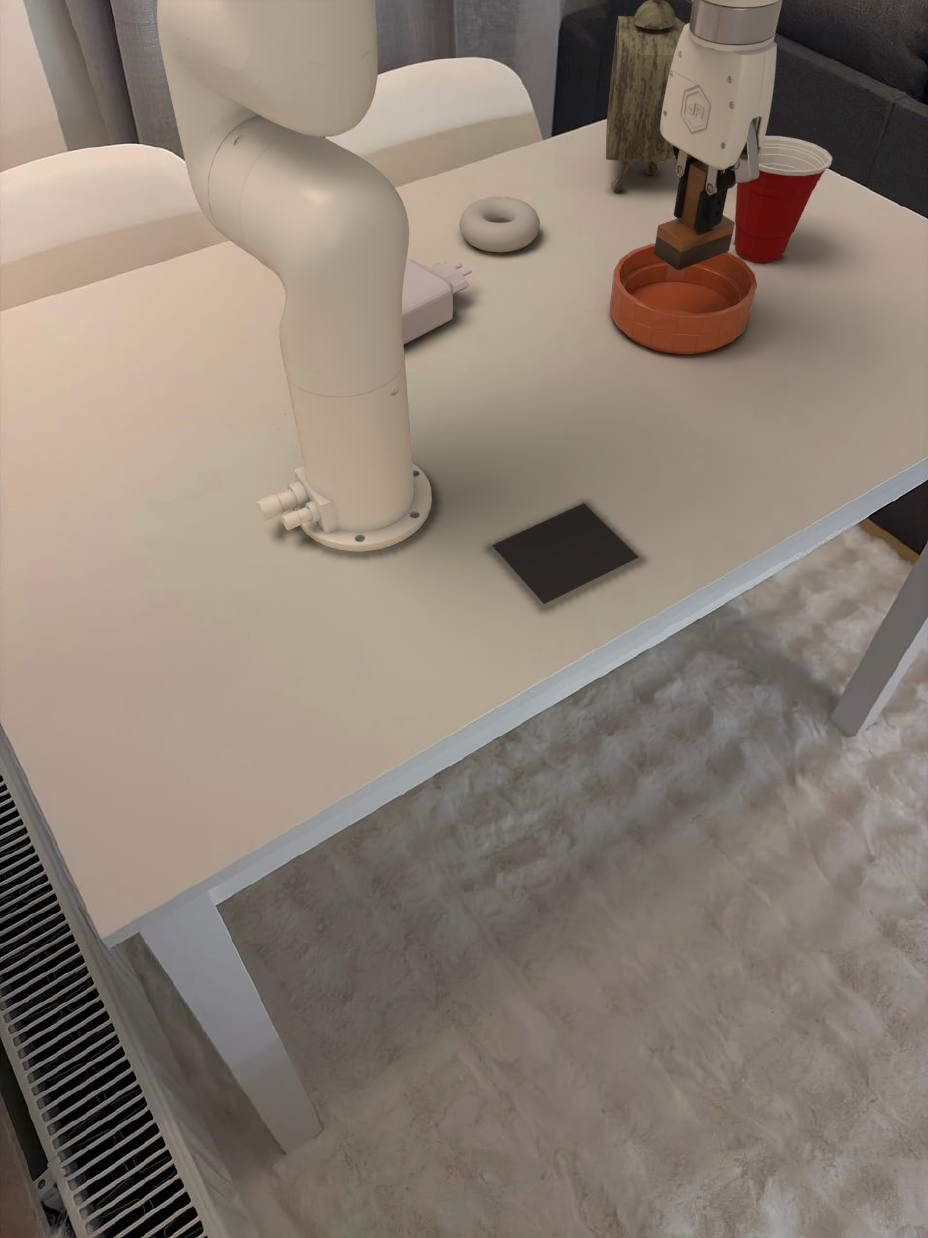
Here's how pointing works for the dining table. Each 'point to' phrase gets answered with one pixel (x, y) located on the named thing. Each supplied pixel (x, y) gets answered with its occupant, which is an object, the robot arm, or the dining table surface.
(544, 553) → the mat
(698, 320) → the bowl
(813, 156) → the plastic cup
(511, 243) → the donut
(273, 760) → the dining table surface
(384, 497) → the robot arm
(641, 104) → the tabletop clock
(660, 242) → the brush
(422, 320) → the charger
